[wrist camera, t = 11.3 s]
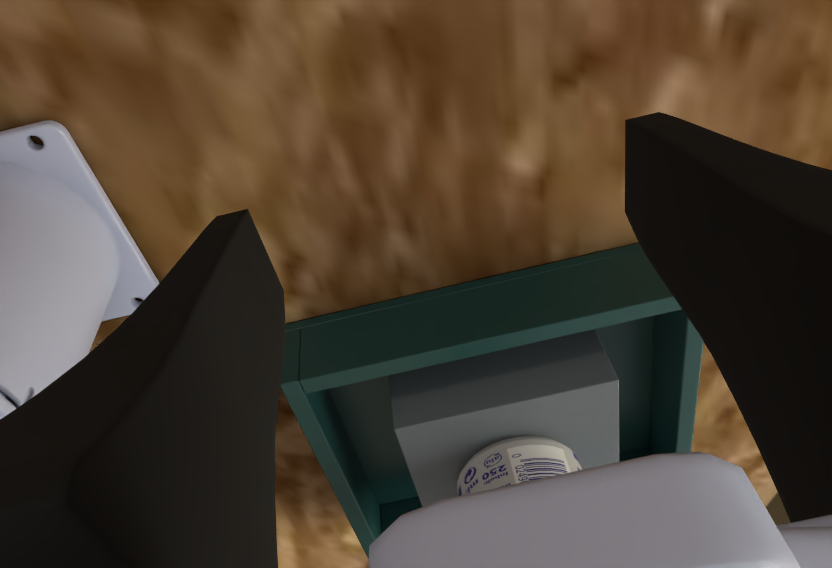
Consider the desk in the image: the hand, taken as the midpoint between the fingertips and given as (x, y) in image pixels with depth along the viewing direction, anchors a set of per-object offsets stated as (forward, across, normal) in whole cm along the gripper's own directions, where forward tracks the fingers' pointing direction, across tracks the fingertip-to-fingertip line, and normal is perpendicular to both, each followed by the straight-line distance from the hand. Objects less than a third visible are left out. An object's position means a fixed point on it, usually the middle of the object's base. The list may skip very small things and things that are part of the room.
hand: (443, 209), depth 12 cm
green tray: (+10, -1, +18) cm, 21 cm away
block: (+10, -1, +18) cm, 20 cm away
